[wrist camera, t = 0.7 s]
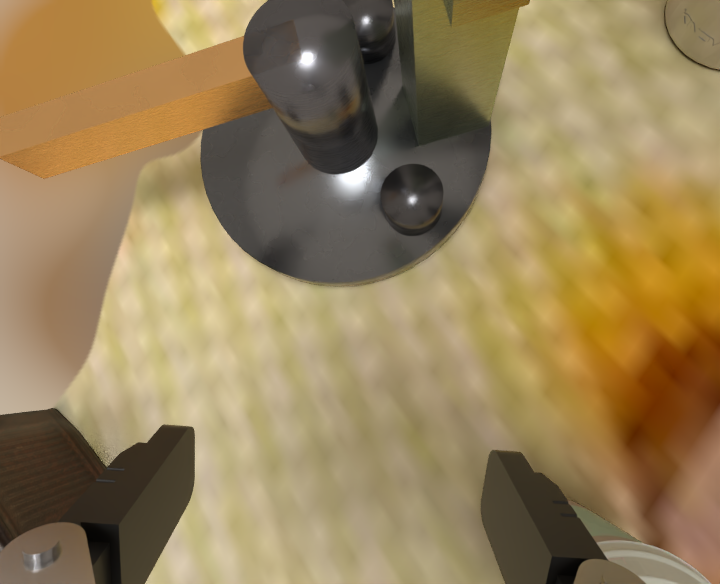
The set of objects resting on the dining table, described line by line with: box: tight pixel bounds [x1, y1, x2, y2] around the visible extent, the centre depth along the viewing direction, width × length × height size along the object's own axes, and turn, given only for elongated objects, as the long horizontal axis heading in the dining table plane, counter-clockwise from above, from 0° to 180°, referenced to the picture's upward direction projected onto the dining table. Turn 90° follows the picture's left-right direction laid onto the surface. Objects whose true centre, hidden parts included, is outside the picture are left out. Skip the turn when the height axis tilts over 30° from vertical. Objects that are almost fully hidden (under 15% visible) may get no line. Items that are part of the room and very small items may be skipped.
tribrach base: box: [201, 0, 530, 287], centre depth 25 cm, size 22×22×20 cm
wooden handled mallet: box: [0, 0, 378, 179], centre depth 28 cm, size 21×6×10 cm, turn 103°
